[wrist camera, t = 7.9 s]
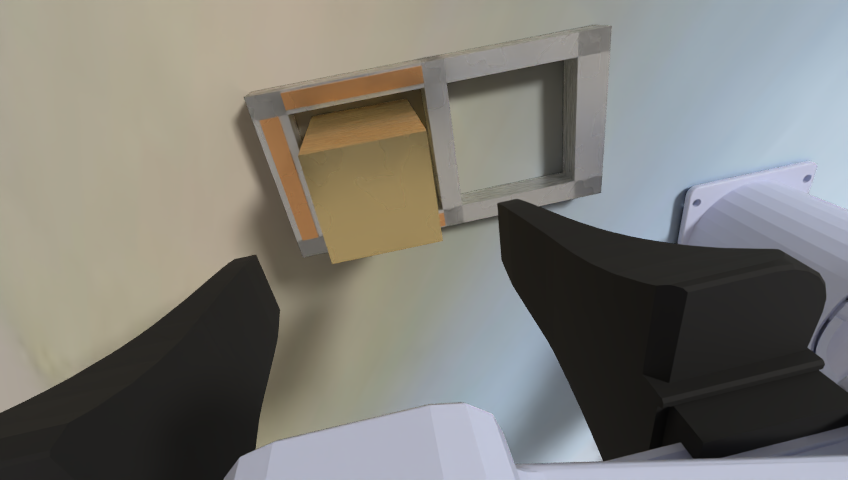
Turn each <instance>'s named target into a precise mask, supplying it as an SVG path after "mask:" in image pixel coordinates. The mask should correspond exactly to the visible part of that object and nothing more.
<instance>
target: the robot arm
mask: <svg viewBox="0 0 848 480" xmlns="http://www.w3.org/2000/svg"><path fill="white" fill-rule="evenodd" d="M816 170H817V164H816V163H814V162H811V161H804V162H800V163H795V164H791V165H786V166H782V167H777V168H772V169H768V170H763V171H759V172H754V173H750V174H745V175H741V176H736V177H731V178H727V179H722V180H718V181H713V182H709V183H704V184H700V185H695V186H693V187H691V188H690V189H689V190H688V191H687V194H686V198H685V204H684V209H683V215H682V220H681V226H680V232H679V237H678V243H677V244H673V243H666V242H659V241H653V240H646V239H641V238H636V237H631V236H627V235H622V234H618V233H614V232H610V231H606V230H602V229H599V228H596V227H593V226H589V225H586V224H583V223H580V222H577V221H575V220H572V219H569V218H566V217H564V216H561V215H559V214H556V213H554V212H551V211H549V210H546V209H544V208H541V207H539V206H536V205H534V204H531V203H529V202H526V201H523V200H520V199H513V200H509V201H504V202H499V203H497V207H498V220H499V233H500V245H501V258H502V262H503V264H504V267H505V269H506V271H507V274H508V276H509V278H510V280H511V283H512V285H513V287H514V288H515V290H516V292H517V293H518V295H519V296H520V298H521V300H522V301H523V303H524V304H525V306H526V307H527V309H528V311H529V312H530V314H531V315H532V317H533V318H534V320H535V322H536V323H537V325H538V326H539V328H540V330H541V331H542V333H543V334H544V336H545V337H546V339H547V341H548V342H549V344H550V346H551V348H552V349H553V351H554V353H555V355H556V357H557V359H558V361H559V363H560V366H561V368H562V370H563V372H564V374H565V376H566V378H567V380H568V382H569V384H570V386H571V389H572V391H573V393H574V395H575V397H576V400H577V402H578V404H579V406H580V408H581V410H582V413H583V415H584V417H585V420H586V422H587V424H588V427H589V429H590V431H591V433H592V436H593V438H594V440H595V443H596V445H597V447H598V450H599V452H600V454H601V457H602V459H603V461H601V462H567V463H532V464H514V461H513V458H512V455H511V452H510V450H509V447H508V444H507V441H506V438H505V436H504V433H503V431H502V429H501V428H500V426H499V424H498V422H497V421H496V419H495V417H494V416H493V414H492V413H489V412H486V411H484V410H481V409H479V408H476V407H474V406H471V405H468V404H466V403H462V402H458V403H440V404H428V405H424V406H419V407H415V408H411V409H407V410H403V411H398V412H394V413H390V414H386V415H382V416H377V417H373V418H369V419H365V420H360V421H356V422H352V423H348V424H344V425H339V426H335V427H331V428H327V429H323V430H318V431H314V432H310V433H306V434H302V435H297V436H293V437H289V438H285V439H281V440H276V441H274V442H272V443H270V444H267V445H265V446H263V447H260V448H258V449H256V450H255V448H256V440H257V432H258V423H259V417H260V412H261V407H262V402H263V398H264V394H265V390H266V386H267V382H268V378H269V374H270V369H271V365H272V361H273V357H274V352H275V348H276V344H277V339H278V329H279V314H280V309H279V306H278V304H277V302H276V299H275V297H274V295H273V293H272V290H271V288H270V286H269V283H268V281H267V279H266V277H265V274H264V272H263V270H262V267H261V265H260V263H259V261H258V258H257V256H256V255H252V256H248V257H243V258H238V259H235V260H233V261H231V262H230V263H228V264H227V265H226V266H225V267H223V268H222V269H221V270H220V271H218V272H217V273H216V274H215V275H214V276H212V277H211V278H210V279H209V280H208V281H207V282H205V283H204V284H203V285H202V286H201V287H200V288H198V289H197V290H196V291H195V292H194V293H193V294H191V295H190V296H189V297H188V298H187V299H186V300H184V301H183V302H182V303H181V304H179V305H178V306H177V307H176V308H174V309H173V310H172V311H170V312H169V313H168V314H167V315H165V316H164V317H163V318H162V319H160V320H159V321H158V322H157V323H155V324H154V325H153V326H151V327H150V328H149V329H147V330H146V331H144V332H143V333H142V334H140V335H139V336H137V337H136V338H134V339H133V340H131V341H130V342H128V343H127V344H125V345H124V346H122V347H121V348H119V349H118V350H116V351H115V352H113V353H112V354H110V355H108V356H107V357H105V358H103V359H101V360H100V361H98V362H96V363H95V364H93V365H91V366H90V367H88V368H86V369H85V370H83V371H81V372H79V373H78V374H76V375H74V376H73V377H71V378H69V379H67V380H65V381H63V382H62V383H60V384H58V385H56V386H54V387H52V388H50V389H48V390H46V391H45V392H43V393H41V394H39V395H37V396H35V397H33V398H31V399H29V400H27V401H25V402H23V403H21V404H18V405H16V406H14V407H12V408H10V409H8V410H6V411H4V412H2V413H0V480H848V210H847V209H845V208H842V207H840V206H837V205H835V204H832V203H830V202H827V201H825V200H822V199H820V198H817V197H815V196H812V195H810V194H809V191H810V188H811V185H812V182H813V179H814V176H815V173H816ZM695 200H696V201H695ZM694 201H695V202H694ZM693 202H694V203H693Z"/></svg>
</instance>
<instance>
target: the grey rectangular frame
mask: <svg viewBox="0 0 848 480" xmlns="http://www.w3.org/2000/svg"><path fill="white" fill-rule="evenodd" d="M611 28H612V26H608V25H591V26H586V27H581V28H576V29H571V30H565V31H560V32H555V33H550V34H545V35H540V36H535V37H530V38H524V39H519V40H514V41H509V42H504V43H499V44H494V45H488V46H483V47H478V48H473V49H468V50H463V51H458V52H453V53H447V54H442V55H437V56H432V57H427V58H422V59H417V60H412V61H406V62H401V63H396V64H391V65H386V66H381V67H376V68H370V69H365V70H360V71H355V72H350V73H345V74H340V75H335V76H329V77H324V78H319V79H314V80H309V81H304V82H299V83H294V84H288V85H283V86H278V87H273V88H268V89H263V90H258V91H252V92H250V93H249V94H248V95H246V96H245V97H244V99H245V102H246V105H247V108H248V110H249V113H250V116H251V118H252V121H253V124H254V126H255V129H256V132H257V135H258V137H259V140H260V143H261V145H262V148H263V151H264V153H265V156H266V159H267V162H268V164H269V167H270V170H271V172H272V175H273V178H274V180H275V183H276V186H277V189H278V191H279V194H280V197H281V199H282V202H283V205H284V207H285V210H286V213H287V216H288V218H289V221H290V224H291V226H292V229H293V232H294V235H295V237H296V240H297V243H298V245H299V248H300V251H301V253H302V256H303V258H304V257H308V256H313V255H317V254H322V253H327V252H328V249H327V246H326V243H325V240H324V237H323V234H322V230H321V227H320V224H319V221H318V218H317V215H316V212H315V208H314V205H313V202H312V199H311V196H310V193H309V189H308V186H307V183H306V180H305V177H304V174H303V170H302V167H301V164H300V161H299V158H298V154H299V151H300V148H301V145H302V143H303V142H302V139H301V136H300V132H299V129H298V126H297V123H296V120H295V117H294V113H299V112H304V111H309V110H314V109H319V108H324V107H329V106H334V105H339V104H344V103H349V102H354V101H359V100H364V99H369V98H374V97H379V96H384V95H389V94H394V93H399V92H405V91H410V90H415V89H420V88H421V93H422V100H423V106H424V112H425V119H426V125H427V132H428V138H429V144H430V151H431V157H432V163H433V170H434V176H435V182H436V189H437V195H438V199H437V205H438V211H439V218H440V225H441V227H446V226H451V225H455V224H460V223H464V222H469V221H474V220H478V219H483V218H487V217H492V216H497V215H498V207H497V203H499V202H504V201H509V200H513V199H520V200H523V201H526V202H529V203H531V204H534V205H536V206H543V205H547V204H552V203H556V202H561V201H565V200H570V199H575V198H579V197H584V196H588V195H593V194H598V193H601V185H602V170H603V154H604V138H605V123H606V107H607V91H608V76H609V60H610V44H611ZM560 60H564V95H563V172H560V173H556V174H551V175H546V176H542V177H537V178H532V179H528V180H523V181H518V182H514V183H509V184H504V185H500V186H495V187H490V188H486V189H481V190H476V191H472V192H467V193H462V194H461V193H460V185H459V177H458V169H457V161H456V153H455V145H454V137H453V129H452V121H451V113H450V105H449V97H448V89H447V83H450V82H455V81H460V80H465V79H470V78H475V77H480V76H485V75H490V74H495V73H500V72H505V71H510V70H515V69H520V68H525V67H530V66H535V65H540V64H545V63H550V62H555V61H560Z"/></svg>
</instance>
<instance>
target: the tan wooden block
mask: <svg viewBox="0 0 848 480" xmlns="http://www.w3.org/2000/svg"><path fill="white" fill-rule="evenodd" d="M298 158H299V161H300V164H301V167H302V170H303V174H304V177H305V180H306V183H307V186H308V189H309V193H310V196H311V199H312V202H313V205H314V208H315V212H316V215H317V218H318V221H319V224H320V227H321V230H322V234H323V237H324V240H325V243H326V246H327V249H328V253H329V256H330V259H331V262H332V264H335V263H340V262H345V261H349V260H354V259H359V258H364V257H368V256H373V255H378V254H383V253H387V252H392V251H397V250H402V249H406V248H411V247H416V246H421V245H425V244H430V243H435V242H440V241H443V239H442V232H441V225H440V218H439V211H438V205H437V198H436V191H435V184H434V177H433V170H432V164H431V157H430V150H429V143H428V136H427V130H426V129H425V127H424V126H423V124H422V123H421V121H420V119H419V118H418V116H417V115H416V113H415V111H414V110H413V108H412V107H411V105H410V103H409V102H408V100H407V99H401V100H396V101H391V102H385V103H380V104H375V105H369V106H364V107H359V108H353V109H348V110H343V111H337V112H332V113H327V114H321V115H316V116H312V117H311V120H310V123H309V126H308V129H307V131H306V134H305V137H304V140H303V143H302V145H301V148H300V151H299V154H298Z"/></svg>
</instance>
